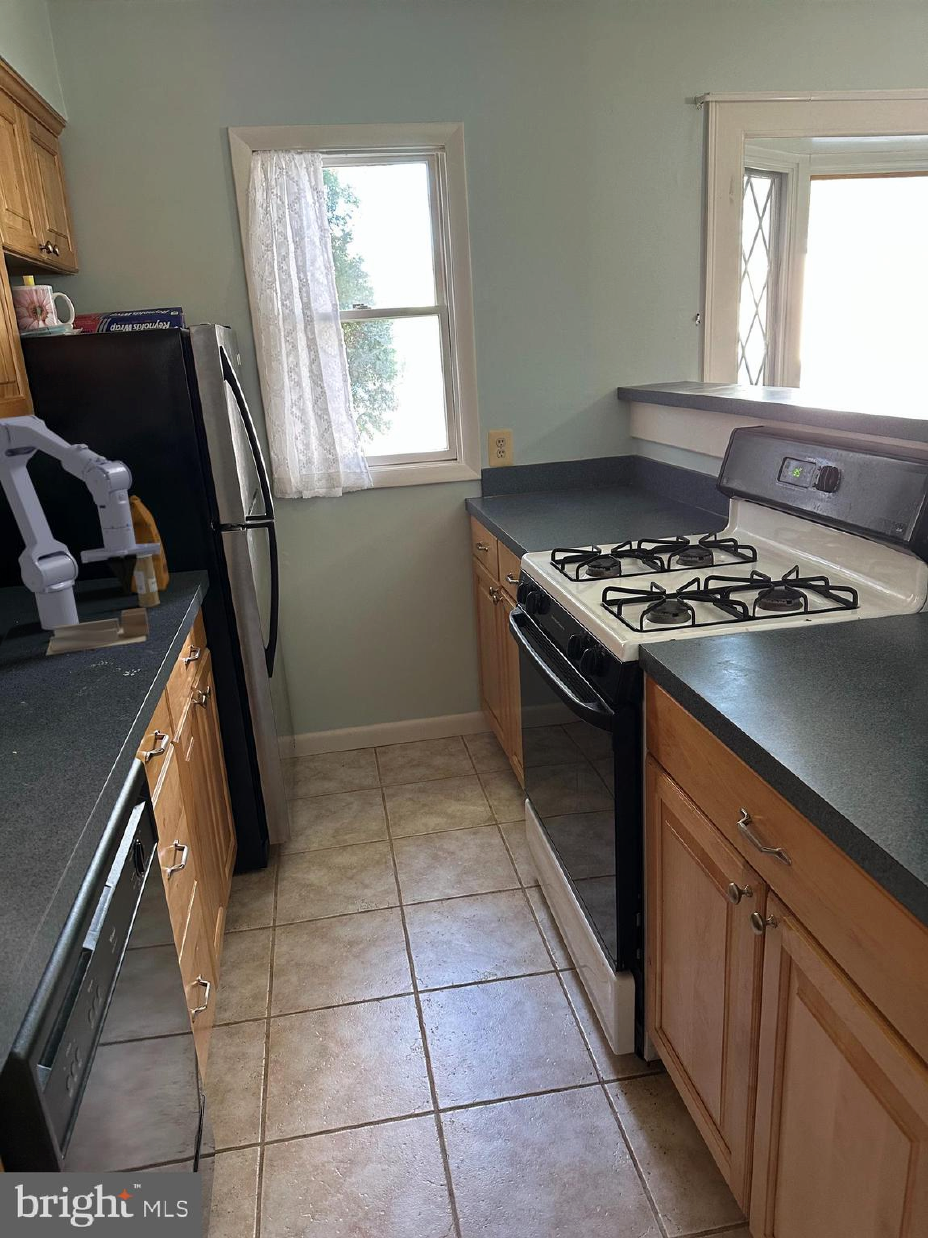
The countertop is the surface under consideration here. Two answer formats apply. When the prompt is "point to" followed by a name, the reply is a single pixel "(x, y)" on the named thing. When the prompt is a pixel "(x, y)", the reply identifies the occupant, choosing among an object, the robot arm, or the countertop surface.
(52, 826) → the countertop surface
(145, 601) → the sprinkles bottle
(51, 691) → the countertop surface
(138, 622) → the walnut block
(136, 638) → the frame
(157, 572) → the coffee package
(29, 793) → the countertop surface
